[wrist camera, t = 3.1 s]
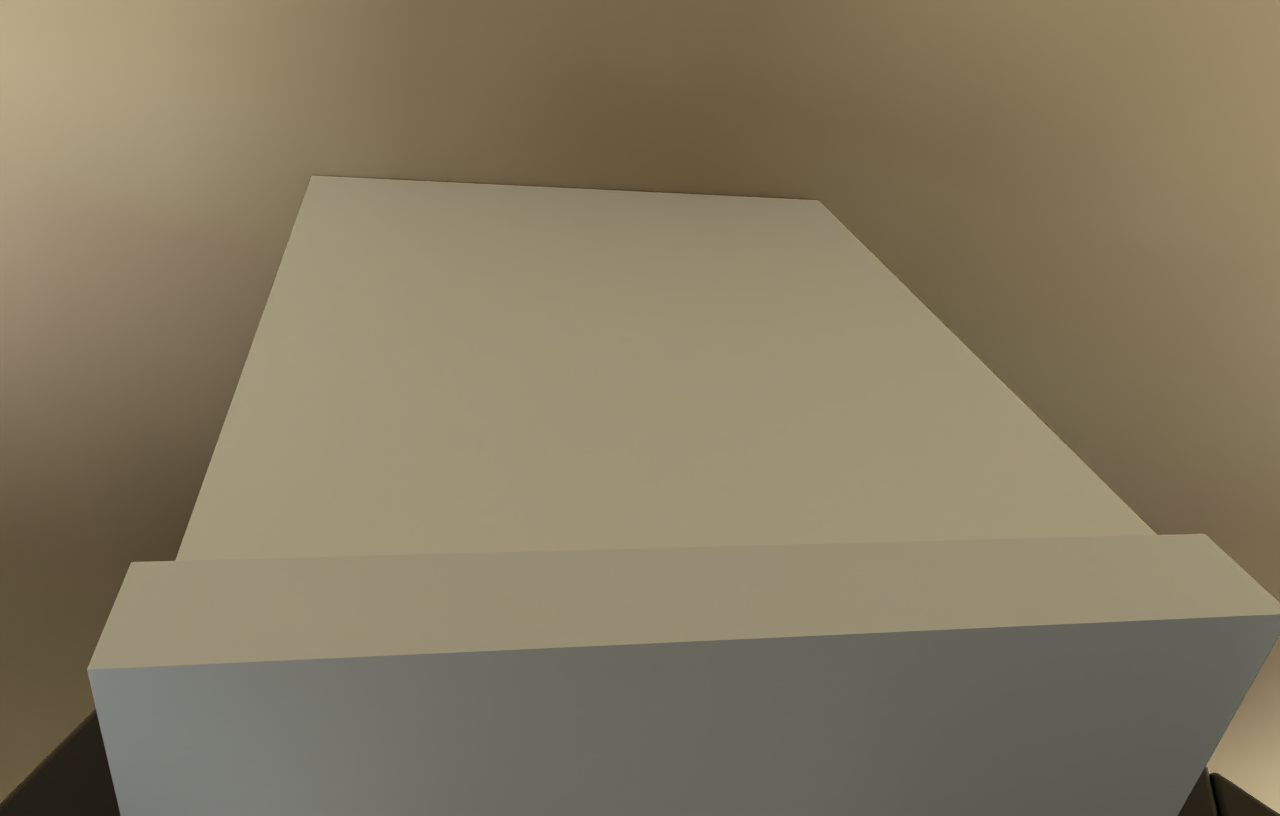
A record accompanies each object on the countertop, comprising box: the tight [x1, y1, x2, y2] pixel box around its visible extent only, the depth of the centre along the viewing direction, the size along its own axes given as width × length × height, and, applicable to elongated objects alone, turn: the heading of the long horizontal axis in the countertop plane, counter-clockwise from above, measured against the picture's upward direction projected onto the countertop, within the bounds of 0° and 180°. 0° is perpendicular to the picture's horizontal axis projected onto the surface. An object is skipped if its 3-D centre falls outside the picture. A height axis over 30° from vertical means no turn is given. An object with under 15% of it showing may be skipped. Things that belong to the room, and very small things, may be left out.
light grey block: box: [87, 175, 1280, 816], centre depth 7 cm, size 6×4×5 cm
